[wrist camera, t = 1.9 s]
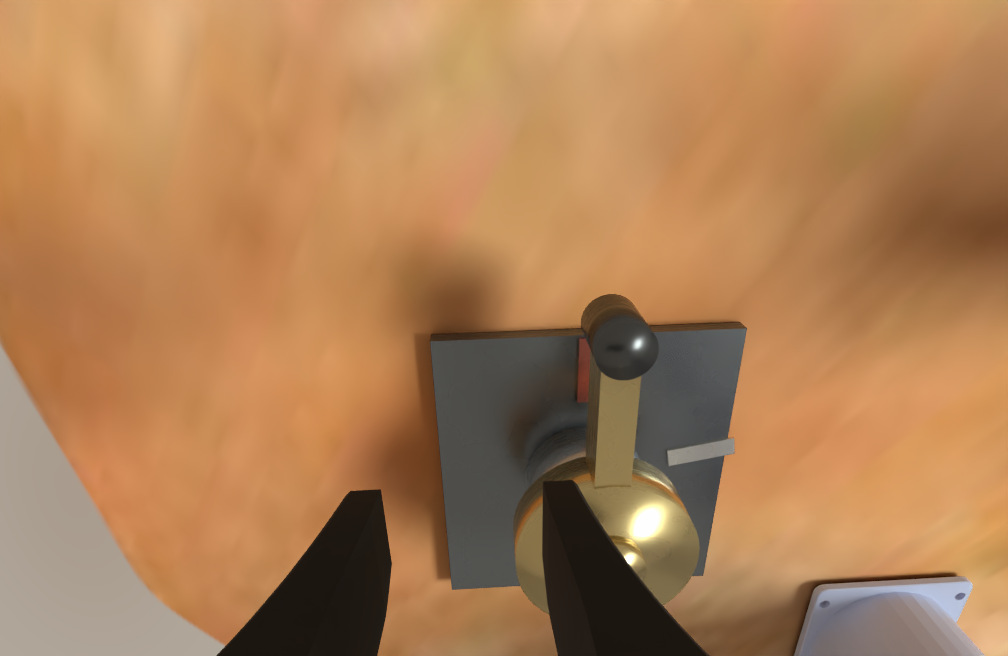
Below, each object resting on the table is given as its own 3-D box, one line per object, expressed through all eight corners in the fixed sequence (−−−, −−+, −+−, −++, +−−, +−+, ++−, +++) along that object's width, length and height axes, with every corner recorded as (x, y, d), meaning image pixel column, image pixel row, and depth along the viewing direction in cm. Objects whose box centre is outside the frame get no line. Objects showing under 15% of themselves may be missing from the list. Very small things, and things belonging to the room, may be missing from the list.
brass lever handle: (671, 577, 22) (694, 634, 20) (513, 586, 22) (518, 645, 20) (713, 290, 17) (749, 322, 15) (507, 298, 17) (512, 332, 14)
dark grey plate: (705, 565, 27) (734, 624, 24) (452, 579, 26) (449, 641, 23) (749, 321, 21) (792, 359, 18) (431, 334, 21) (424, 375, 18)
